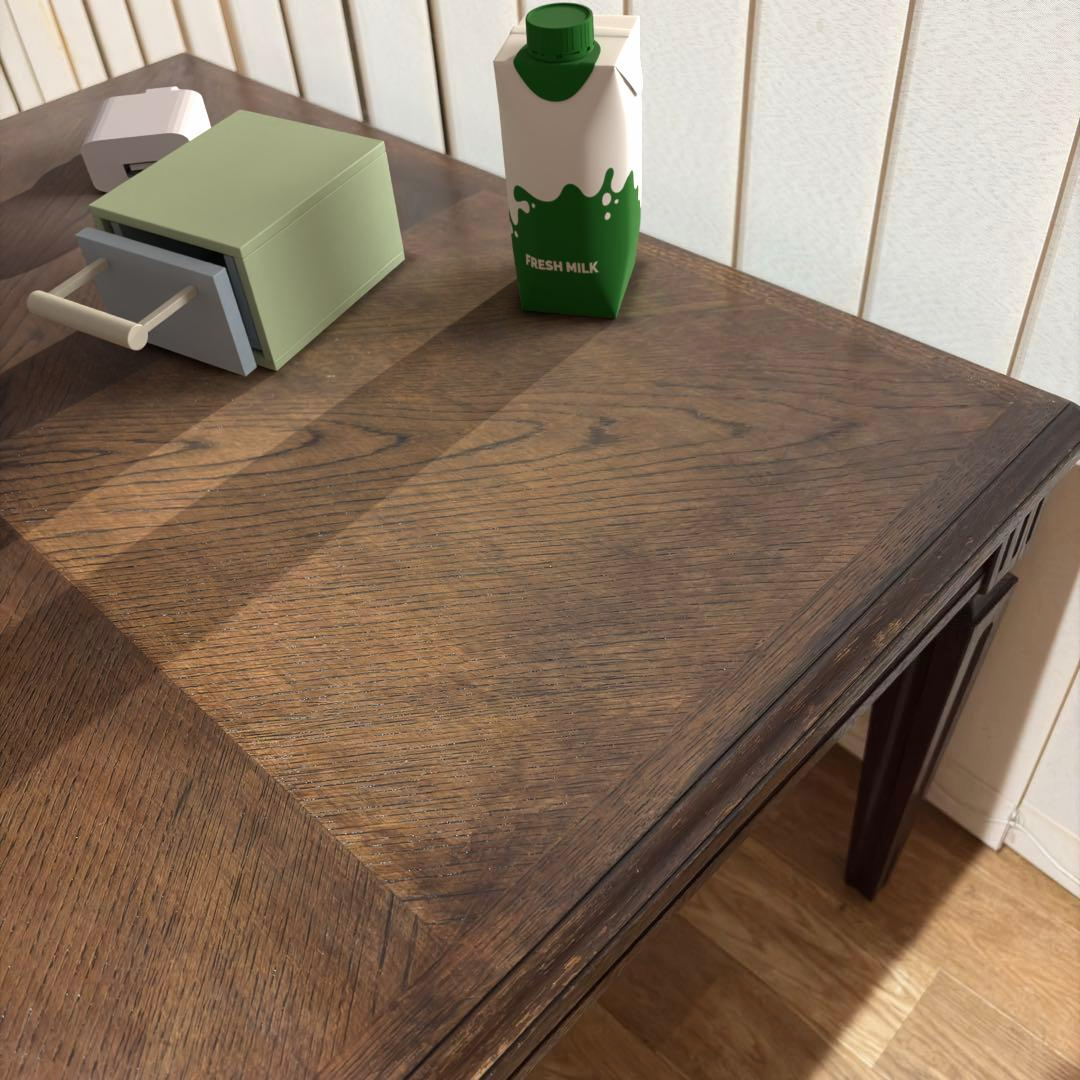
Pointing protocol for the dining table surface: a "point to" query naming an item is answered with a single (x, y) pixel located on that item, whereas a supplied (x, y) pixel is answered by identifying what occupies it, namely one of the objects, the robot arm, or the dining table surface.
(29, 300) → the drawer
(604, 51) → the milk carton
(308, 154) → the cabinet
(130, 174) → the charger
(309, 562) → the dining table surface
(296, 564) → the dining table surface
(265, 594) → the dining table surface
